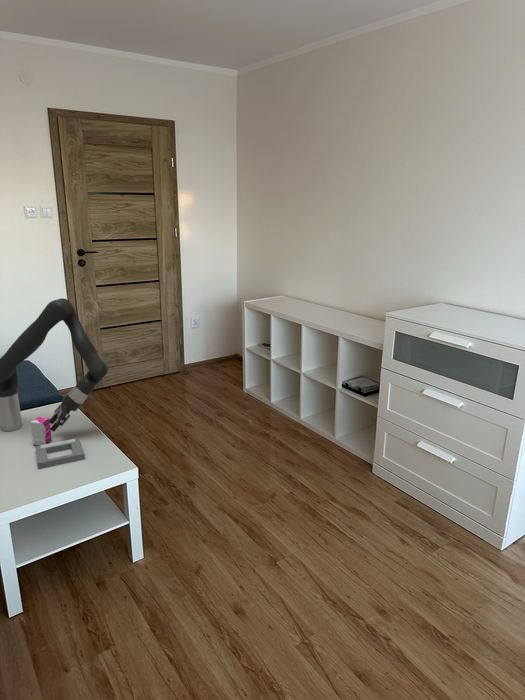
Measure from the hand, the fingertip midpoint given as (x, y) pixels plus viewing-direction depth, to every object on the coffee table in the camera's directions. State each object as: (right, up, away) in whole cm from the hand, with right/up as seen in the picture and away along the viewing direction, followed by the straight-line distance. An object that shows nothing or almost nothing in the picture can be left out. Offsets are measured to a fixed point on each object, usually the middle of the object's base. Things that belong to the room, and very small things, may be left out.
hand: (51, 426), depth 222 cm
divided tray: (+8, -11, -11) cm, 17 cm away
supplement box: (-4, -8, +1) cm, 9 cm away
